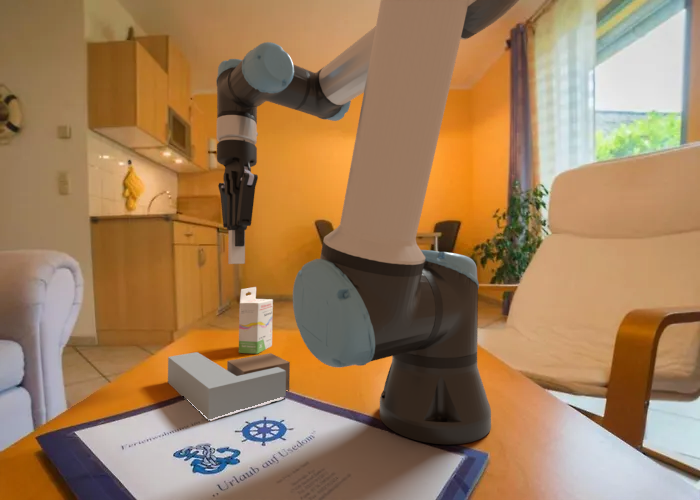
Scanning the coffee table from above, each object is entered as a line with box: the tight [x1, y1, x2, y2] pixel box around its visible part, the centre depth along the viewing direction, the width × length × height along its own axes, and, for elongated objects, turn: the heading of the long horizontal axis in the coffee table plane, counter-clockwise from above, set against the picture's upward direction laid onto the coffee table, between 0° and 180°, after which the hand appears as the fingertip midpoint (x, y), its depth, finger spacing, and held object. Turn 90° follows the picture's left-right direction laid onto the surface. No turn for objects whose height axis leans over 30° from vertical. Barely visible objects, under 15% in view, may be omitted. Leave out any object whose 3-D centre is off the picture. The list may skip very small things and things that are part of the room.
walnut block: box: [226, 352, 291, 392], centre depth 61 cm, size 7×8×5 cm
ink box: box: [238, 286, 274, 355], centre depth 88 cm, size 9×5×15 cm, turn 168°
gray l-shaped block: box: [167, 351, 287, 419], centre depth 61 cm, size 20×12×4 cm, turn 41°
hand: (236, 263), depth 71 cm, fingers closed
